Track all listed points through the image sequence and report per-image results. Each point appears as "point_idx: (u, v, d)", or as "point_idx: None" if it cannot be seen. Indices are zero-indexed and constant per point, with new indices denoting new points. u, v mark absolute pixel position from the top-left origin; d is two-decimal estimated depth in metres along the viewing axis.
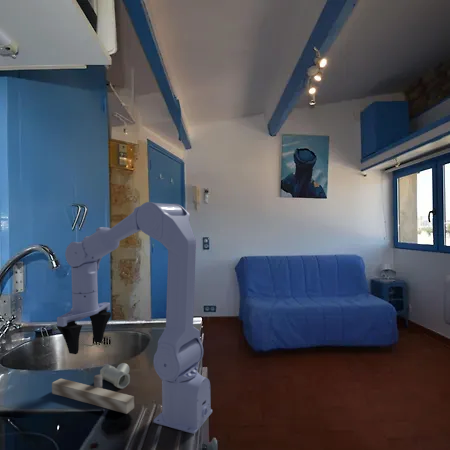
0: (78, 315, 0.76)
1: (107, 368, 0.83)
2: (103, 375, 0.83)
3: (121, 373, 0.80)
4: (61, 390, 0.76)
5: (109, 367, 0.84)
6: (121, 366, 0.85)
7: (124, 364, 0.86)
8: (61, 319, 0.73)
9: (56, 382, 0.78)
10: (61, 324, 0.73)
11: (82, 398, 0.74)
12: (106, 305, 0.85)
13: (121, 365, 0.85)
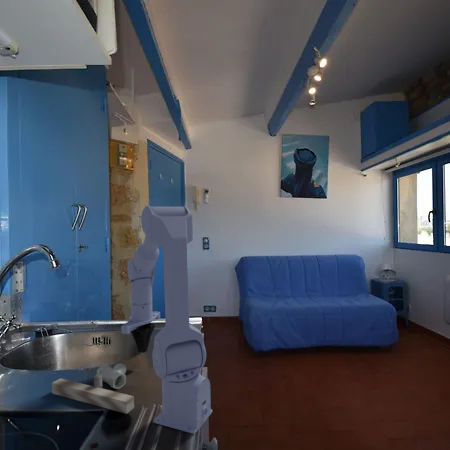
0: (138, 324, 0.87)
1: (103, 368, 0.83)
2: None
3: (117, 373, 0.80)
4: (61, 390, 0.76)
5: (105, 367, 0.83)
6: (118, 366, 0.84)
7: (121, 364, 0.86)
8: (125, 327, 0.85)
9: (56, 382, 0.78)
10: (125, 332, 0.85)
11: (82, 398, 0.74)
12: (157, 314, 0.96)
13: (118, 365, 0.85)
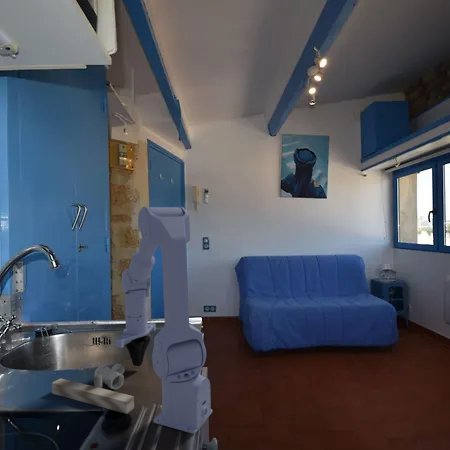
0: (133, 337, 0.85)
1: (101, 369, 0.83)
2: None
3: (115, 374, 0.80)
4: (61, 390, 0.76)
5: (103, 368, 0.83)
6: (116, 367, 0.84)
7: (119, 365, 0.86)
8: (119, 341, 0.82)
9: (56, 382, 0.78)
10: (119, 345, 0.82)
11: (82, 398, 0.74)
12: (153, 326, 0.94)
13: (116, 366, 0.85)
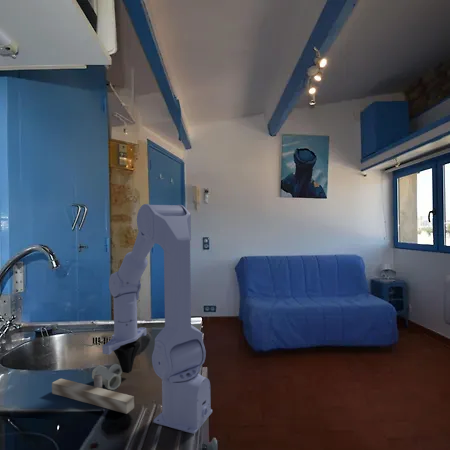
0: (121, 343, 0.81)
1: (99, 369, 0.83)
2: None
3: (112, 374, 0.79)
4: (61, 390, 0.76)
5: (101, 368, 0.83)
6: (113, 367, 0.84)
7: (116, 365, 0.85)
8: (106, 347, 0.78)
9: (56, 382, 0.78)
10: (106, 352, 0.78)
11: (82, 398, 0.74)
12: (143, 331, 0.90)
13: (113, 366, 0.85)
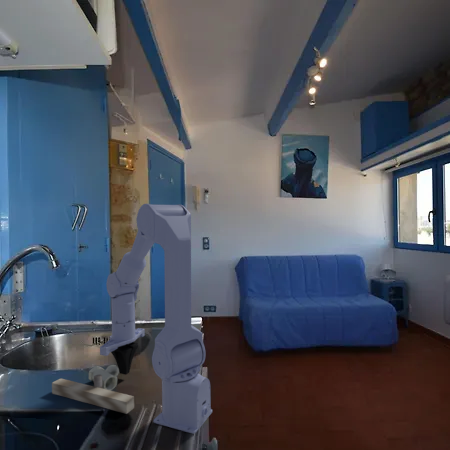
0: (119, 344, 0.80)
1: (95, 370, 0.83)
2: (91, 377, 0.82)
3: (108, 375, 0.79)
4: (61, 390, 0.76)
5: (97, 369, 0.83)
6: (110, 368, 0.84)
7: (113, 366, 0.85)
8: (104, 349, 0.78)
9: (56, 382, 0.78)
10: (104, 353, 0.78)
11: (82, 398, 0.74)
12: (141, 331, 0.89)
13: (110, 367, 0.84)
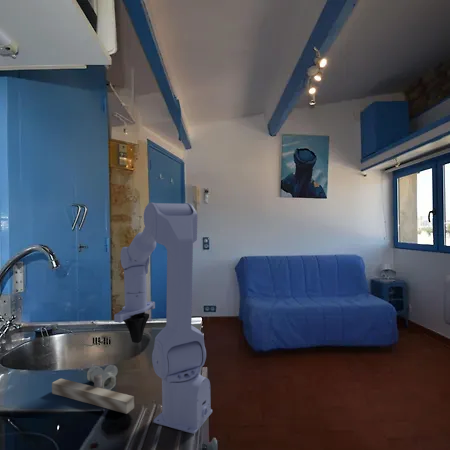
0: (132, 312, 0.85)
1: (94, 370, 0.83)
2: (90, 377, 0.82)
3: (107, 375, 0.79)
4: (61, 390, 0.76)
5: (96, 369, 0.83)
6: (108, 368, 0.84)
7: (112, 366, 0.85)
8: (118, 316, 0.82)
9: (56, 382, 0.78)
10: (118, 320, 0.82)
11: (82, 398, 0.74)
12: (152, 304, 0.94)
13: (109, 367, 0.84)
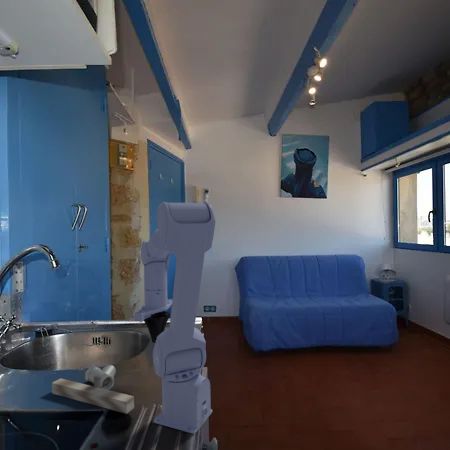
0: (153, 311, 0.80)
1: (92, 370, 0.83)
2: (88, 377, 0.82)
3: (105, 375, 0.79)
4: (61, 390, 0.76)
5: (94, 369, 0.83)
6: (106, 368, 0.84)
7: (110, 366, 0.85)
8: (139, 315, 0.77)
9: (56, 382, 0.78)
10: (139, 319, 0.77)
11: (82, 398, 0.74)
12: None
13: (107, 367, 0.84)
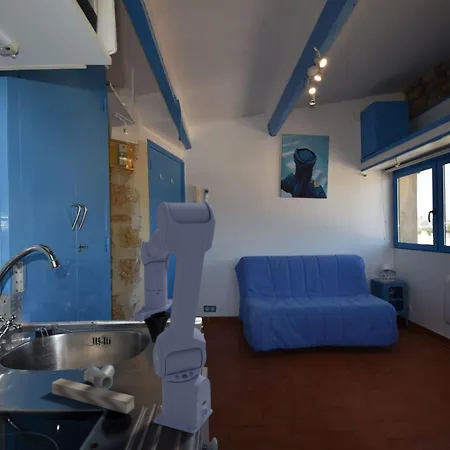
0: (153, 311, 0.80)
1: (91, 370, 0.82)
2: (87, 377, 0.82)
3: (103, 375, 0.79)
4: (61, 390, 0.76)
5: (93, 369, 0.83)
6: (105, 368, 0.84)
7: (109, 366, 0.85)
8: (139, 315, 0.77)
9: (56, 382, 0.78)
10: (139, 319, 0.77)
11: (82, 398, 0.74)
12: None
13: (105, 367, 0.84)
